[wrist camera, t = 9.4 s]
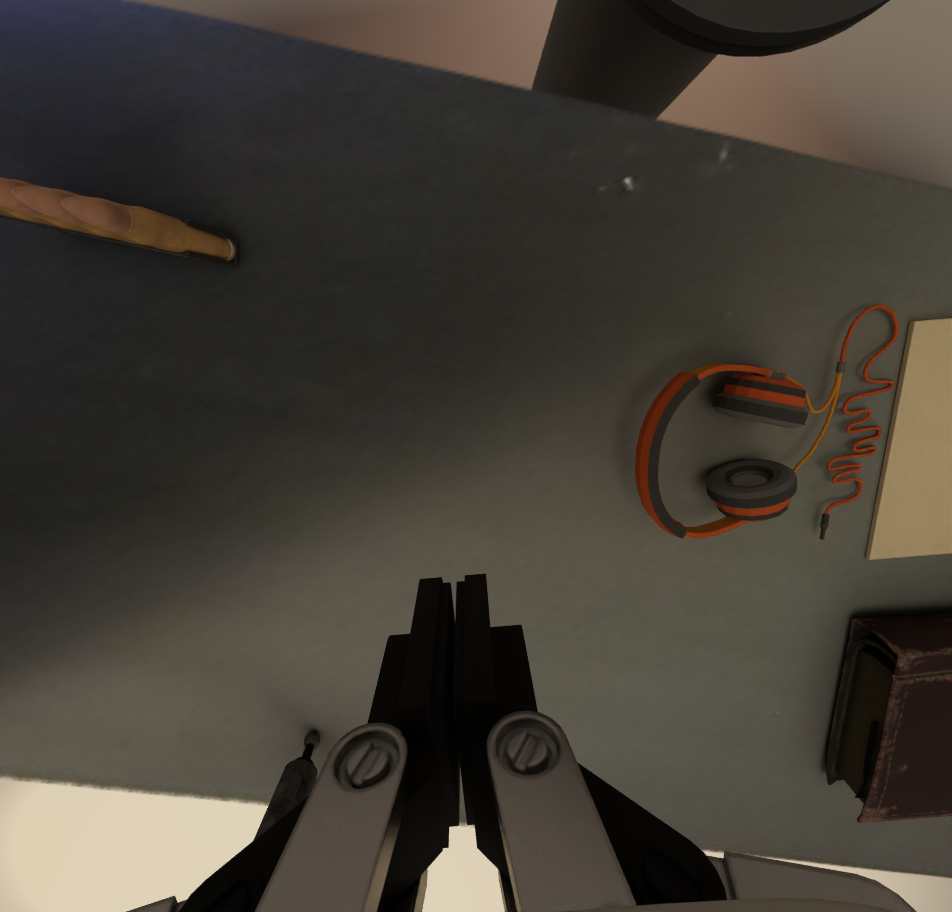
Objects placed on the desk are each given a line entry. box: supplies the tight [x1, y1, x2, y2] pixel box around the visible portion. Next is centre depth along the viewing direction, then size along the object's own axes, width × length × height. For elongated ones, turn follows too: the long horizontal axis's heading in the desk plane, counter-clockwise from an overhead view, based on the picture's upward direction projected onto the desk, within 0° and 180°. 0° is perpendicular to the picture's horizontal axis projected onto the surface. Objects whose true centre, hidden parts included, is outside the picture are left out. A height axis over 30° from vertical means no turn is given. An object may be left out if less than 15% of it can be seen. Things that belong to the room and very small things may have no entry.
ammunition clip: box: [0, 178, 239, 268], centre depth 22 cm, size 11×2×12 cm, turn 79°
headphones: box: [635, 305, 898, 540], centre depth 31 cm, size 17×5×20 cm
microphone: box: [254, 732, 320, 840], centre depth 30 cm, size 7×7×20 cm
